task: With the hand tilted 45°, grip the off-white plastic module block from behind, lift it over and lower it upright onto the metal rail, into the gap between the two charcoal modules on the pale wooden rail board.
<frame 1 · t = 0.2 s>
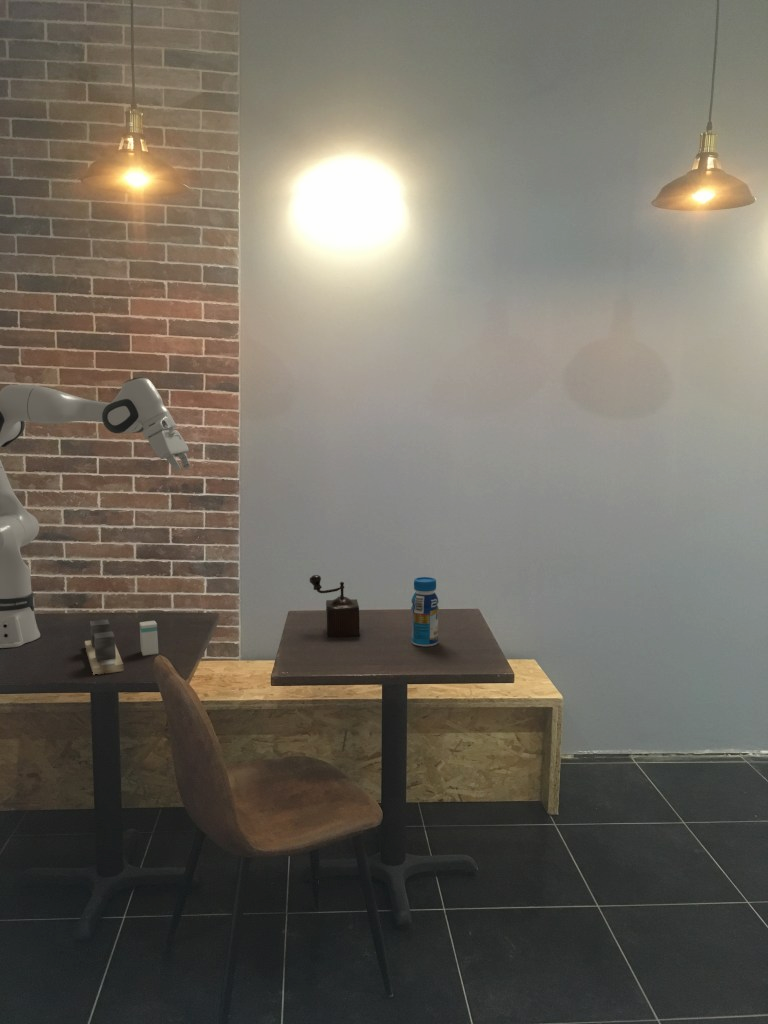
hand: (183, 469, 244), 53 cm above the table, tool tilted 30°, fingers open, 8 cm apart
manual coffee grinder: (334, 632, 263), on the table
rail board: (103, 658, 238), on the table
module block: (149, 652, 244), on the table
beverage bottle: (424, 643, 252), on the table
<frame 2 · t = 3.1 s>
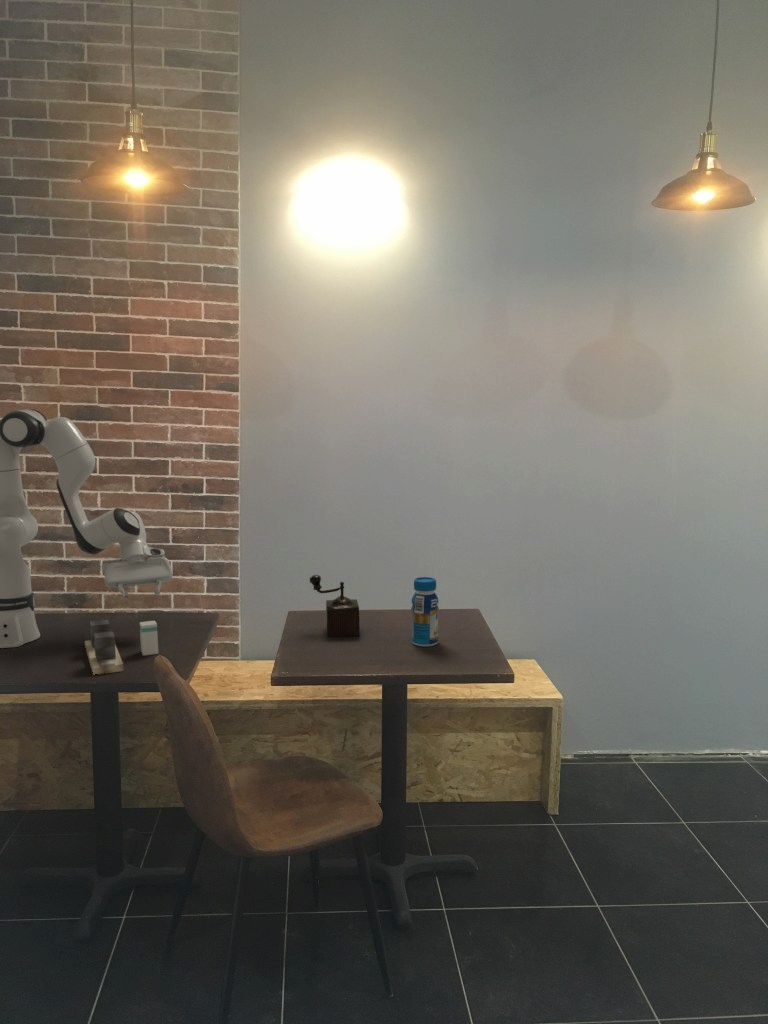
hand: (141, 595, 252), 14 cm above the table, tool tilted 45°, fingers open, 8 cm apart
nothing on the table moved.
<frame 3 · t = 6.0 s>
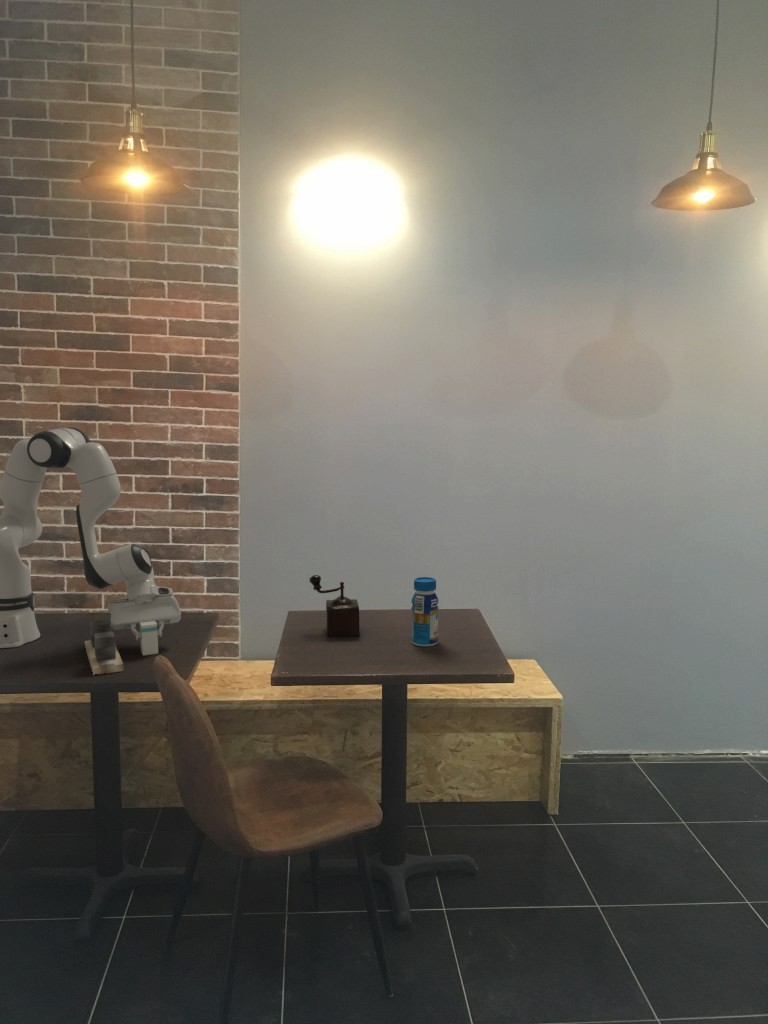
hand: (149, 637, 242), 5 cm above the table, tool tilted 45°, fingers closed on module block, 4 cm apart
module block: (149, 652, 244), on the table, touching gripper
everything else where it was.
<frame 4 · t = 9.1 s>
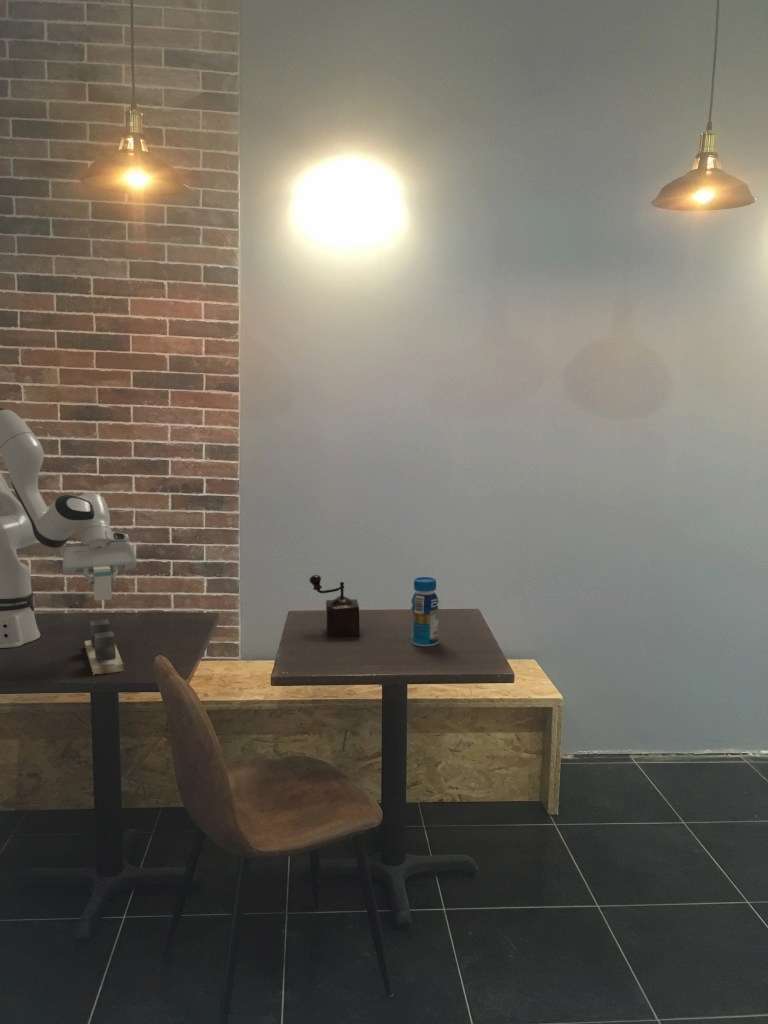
hand: (102, 582, 235), 23 cm above the table, tool tilted 45°, fingers closed on module block, 4 cm apart
module block: (102, 598, 236), point 18 cm above the table, touching gripper
everything else where it was.
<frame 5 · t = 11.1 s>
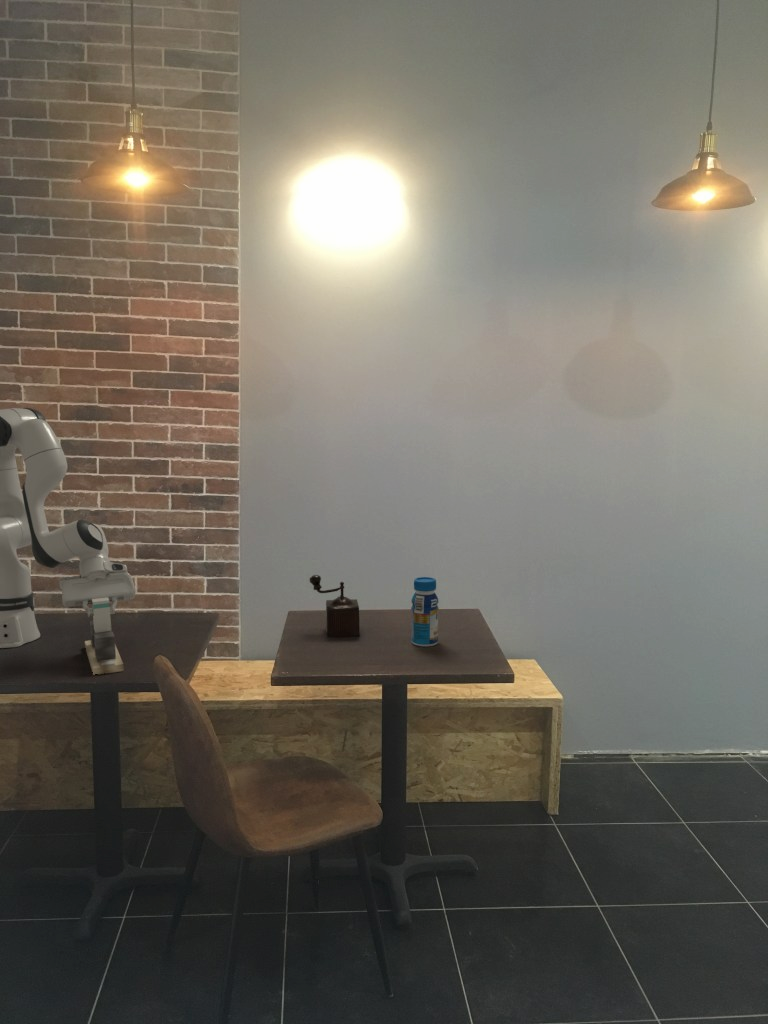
hand: (101, 614, 236), 13 cm above the table, tool tilted 45°, fingers closed on module block, 4 cm apart
module block: (102, 629, 237), point 9 cm above the table, touching gripper
everything else where it was.
when the fingers open (9 cm above the table, at t = 12.4 s): module block drops 1 cm, resting on rail board.
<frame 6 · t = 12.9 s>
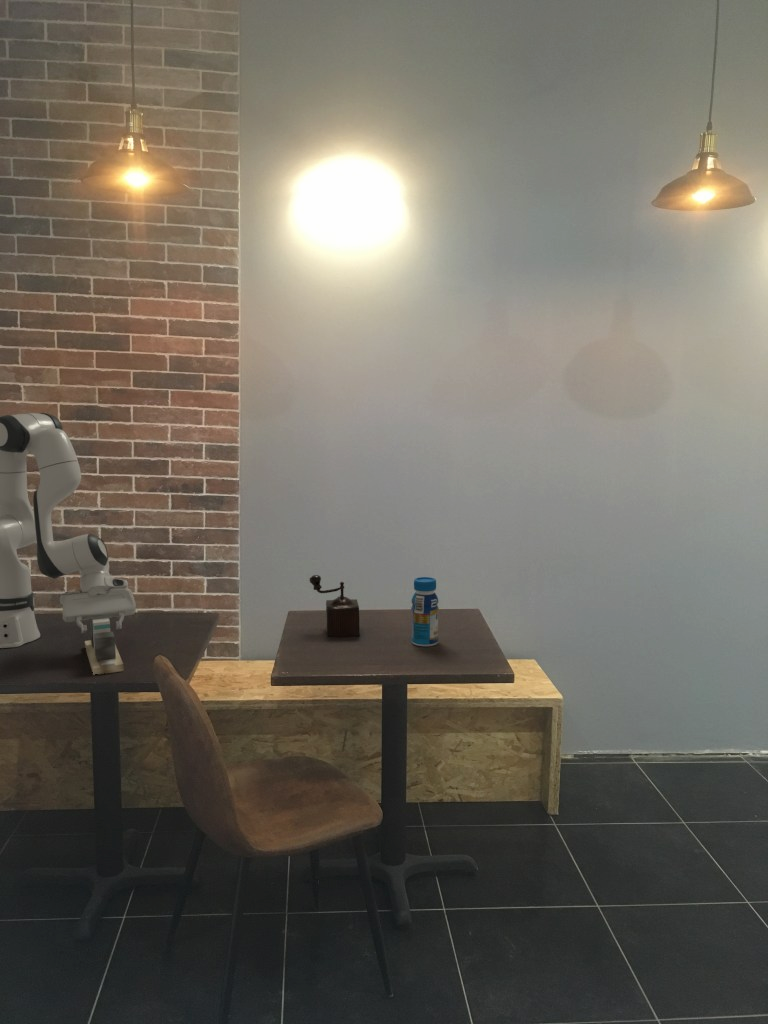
hand: (102, 630, 236), 9 cm above the table, tool tilted 45°, fingers open, 8 cm apart
module block: (102, 650, 238), point 2 cm above the table, touching rail board
everything else where it was.
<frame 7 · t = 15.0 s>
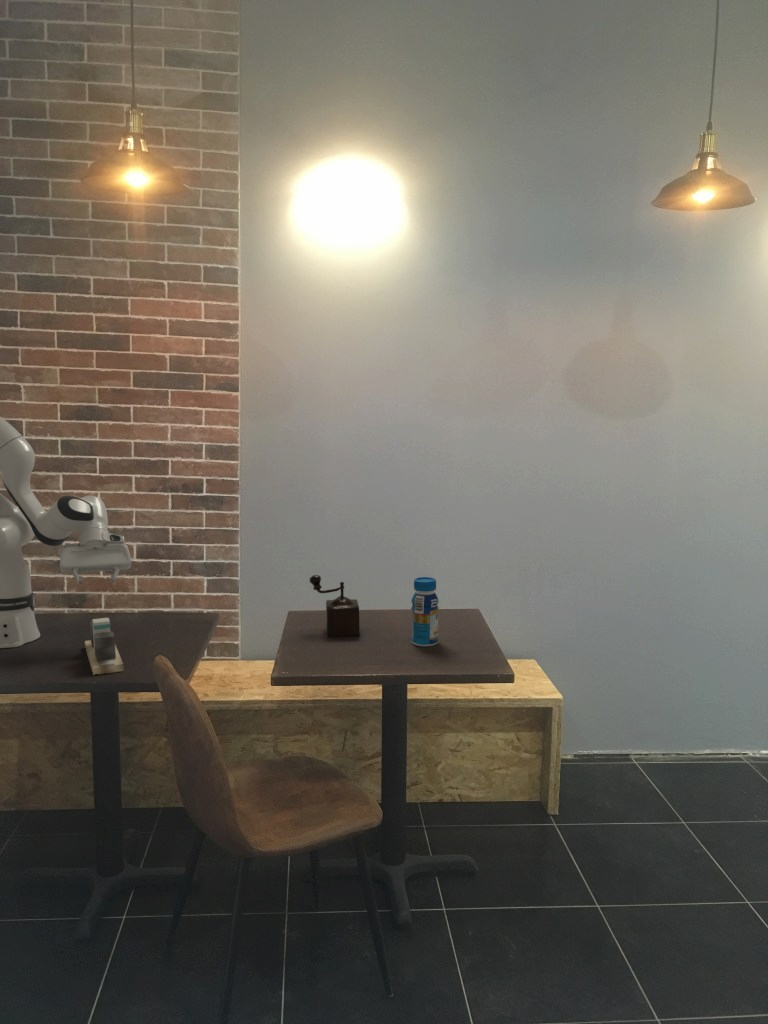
hand: (97, 582, 244), 21 cm above the table, tool tilted 45°, fingers open, 8 cm apart
nothing on the table moved.
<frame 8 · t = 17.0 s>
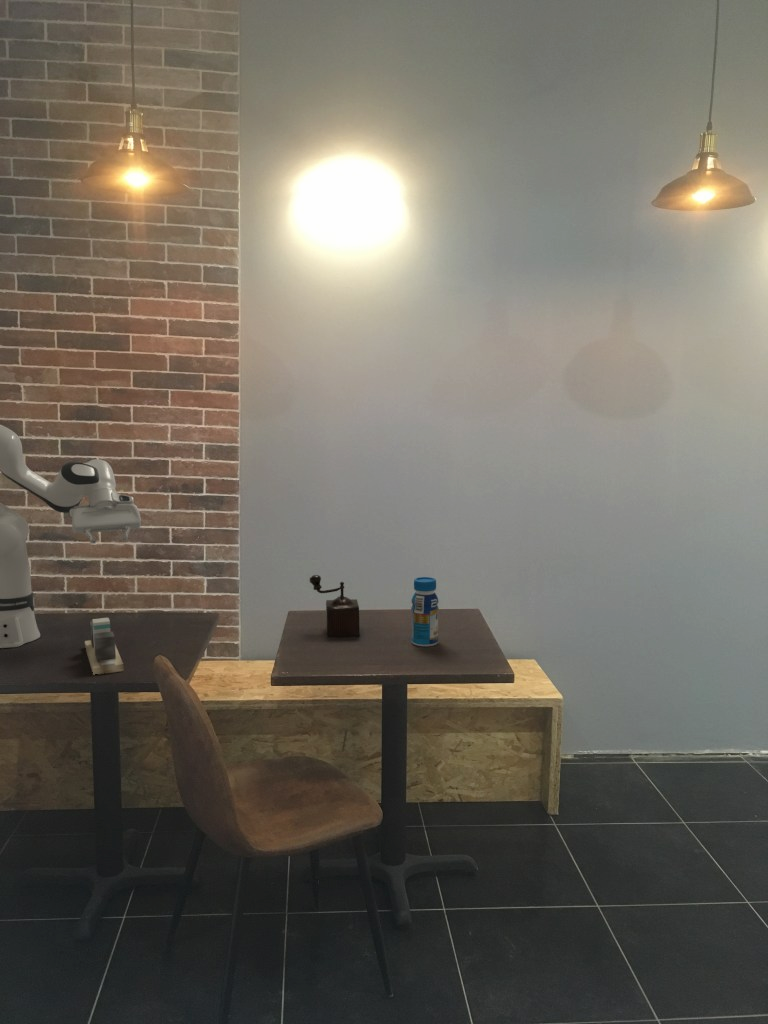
hand: (109, 540, 250), 31 cm above the table, tool tilted 45°, fingers open, 8 cm apart
nothing on the table moved.
at the end: module block 0.1 cm off-centre on the rail board, point 2.5 cm above the rail board's base; module block tilted 0°; the gripper is holding nothing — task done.
